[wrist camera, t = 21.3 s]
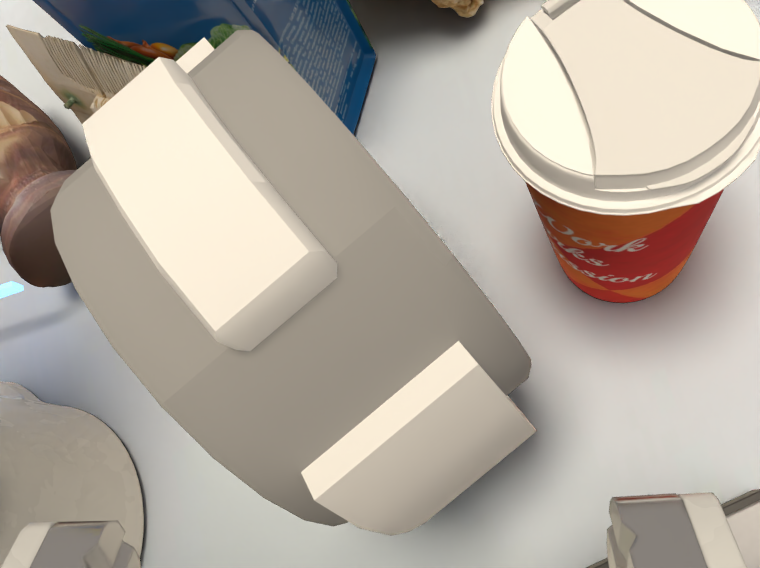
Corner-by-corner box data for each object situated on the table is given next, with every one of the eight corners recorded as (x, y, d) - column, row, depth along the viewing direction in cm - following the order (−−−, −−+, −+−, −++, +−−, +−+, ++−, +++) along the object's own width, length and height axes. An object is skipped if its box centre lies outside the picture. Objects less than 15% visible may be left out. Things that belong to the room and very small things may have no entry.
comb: (19, 5, 39) (116, 130, 47) (-12, 34, 38) (92, 156, 46) (210, 60, 32) (283, 193, 41) (178, 96, 32) (259, 224, 40)
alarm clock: (576, 431, 32) (530, 321, 13) (434, 548, 32) (198, 597, 14) (356, 178, 39) (134, -114, 21) (243, 275, 40) (-73, 72, 21)
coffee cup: (502, 228, 36) (434, 55, 22) (640, 136, 35) (659, -102, 21) (600, 363, 32) (593, 256, 19) (757, 264, 31) (867, 78, 18)
